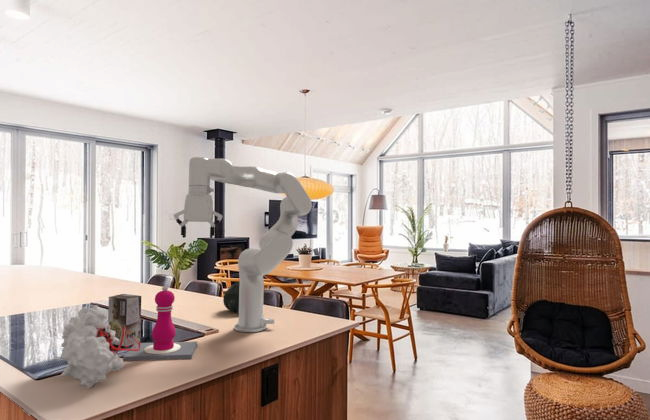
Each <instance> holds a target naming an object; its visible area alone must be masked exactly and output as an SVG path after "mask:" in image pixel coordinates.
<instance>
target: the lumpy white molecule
mask: <svg viewBox="0 0 650 420" xmlns="http://www.w3.org/2000/svg"><path fill="white" fill-rule="evenodd" d="M77 315H78V316H77ZM77 315H75V316H71V317H70V318H69V323H68V324H65V325H64V327H63V329H64V330H63V331H62V337H61V338H62V340H63V342H62V343H61V345H60V346H61V347H62V349H61V355H60V357H61V359H62V360H63V361H65V362H67V366H66V367H65V369H64V371H63V372H62V373H61V377H63V378H64V377H67V376H71V377H73V378H74V379H75V380H76V379H78V380H80V385H81V386H83V387H84V386H86V387H87V388H88V389H90V388H92V387H93V385H95V384H96V383H98V382H104V381H106V380H107V373H108V372H109V373H110V372H111V371H114V372H118V371H119V370H121V369H123V367H124V364H125V363H124V362H125V361H123V358H122V357H120V356H119V353H118V352H119V351H127V352H128V351H138V350H139V349H140V343H142V342H141V340H140V341H139V343H138V342H137V341H136V340H135V338H134V337H133V338H134V340H135V341H136V342H137V343H138V345H139V348H138V349H136V348H135V347H134V344H132V343H131V341H130V340H129V341H130V343H131V344H132V345H131V346H133V347H134V348H135V349H131V348H129V346H126V345H125V344H124V345H125V346H126V348H121V347H122V346H121V345H122V341H123V337H124V334H125V333H124V329H125V327H123V328H122V331H123V335H122V339H121V343H120V345H117V346H118V347H116V346H114V344H112V343H113V342H115V343H119V340H118V339H117V338H116V337H115V333H116V332H115V331H114V330H110V328H111V326H110V325H109V323H108V322H107V321H106V319H107V318H108V314H106V313H103V311H102V310H101V309H99V306H98V305H97V304H96V305H93V306H92V307H87V306H83V307H81V309H80V310H79V311H78V313H77ZM125 330H126V329H125ZM126 331H127V330H126ZM127 332H128V331H127ZM128 333H129V332H128ZM129 334H131V333H129ZM125 336H126V334H125ZM126 337H127V336H126ZM123 343H124V341H123ZM125 346H124V347H125ZM115 350H116V351H115Z"/></svg>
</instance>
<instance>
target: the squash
mask: <svg viewBox="0 0 650 420" xmlns="http://www.w3.org/2000/svg"><path fill="white" fill-rule="evenodd" d="M239 287H240V281H236V282H234V284H232V285H231V286H229V288H227V290H226V291H225V293H224V295H223V305H224V307H225V309H227V310H228V311H230V313H233V314H235V313H237V314H239Z"/></svg>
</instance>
